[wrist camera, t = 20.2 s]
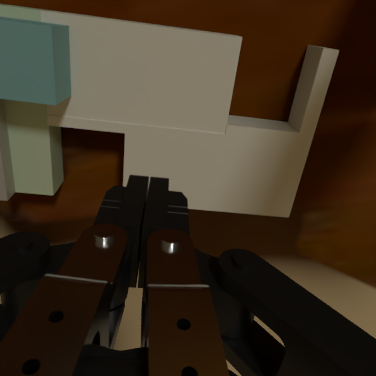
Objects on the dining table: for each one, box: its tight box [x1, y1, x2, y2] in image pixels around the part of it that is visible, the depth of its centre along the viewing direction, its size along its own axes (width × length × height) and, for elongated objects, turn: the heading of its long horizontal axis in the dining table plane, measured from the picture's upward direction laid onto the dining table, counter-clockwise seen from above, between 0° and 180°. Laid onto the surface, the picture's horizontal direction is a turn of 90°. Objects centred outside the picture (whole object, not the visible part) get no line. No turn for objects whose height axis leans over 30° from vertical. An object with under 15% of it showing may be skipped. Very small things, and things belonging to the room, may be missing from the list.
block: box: [0, 16, 71, 105], centre depth 28 cm, size 6×6×4 cm
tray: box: [0, 4, 339, 217], centre depth 34 cm, size 18×31×6 cm, turn 83°
